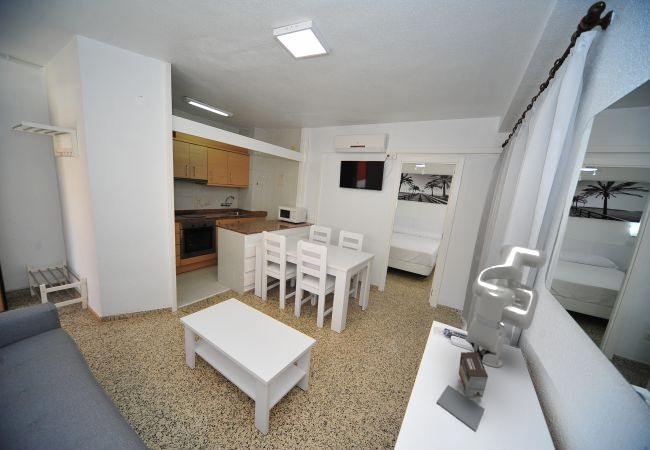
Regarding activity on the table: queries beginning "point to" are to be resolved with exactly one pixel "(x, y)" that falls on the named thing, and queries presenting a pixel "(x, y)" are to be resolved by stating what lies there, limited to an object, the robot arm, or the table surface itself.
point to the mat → (461, 407)
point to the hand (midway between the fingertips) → (477, 360)
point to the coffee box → (472, 374)
